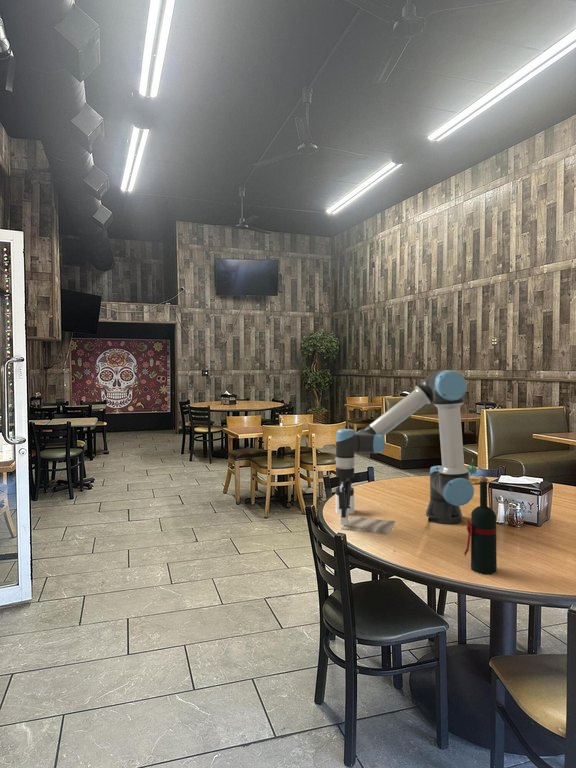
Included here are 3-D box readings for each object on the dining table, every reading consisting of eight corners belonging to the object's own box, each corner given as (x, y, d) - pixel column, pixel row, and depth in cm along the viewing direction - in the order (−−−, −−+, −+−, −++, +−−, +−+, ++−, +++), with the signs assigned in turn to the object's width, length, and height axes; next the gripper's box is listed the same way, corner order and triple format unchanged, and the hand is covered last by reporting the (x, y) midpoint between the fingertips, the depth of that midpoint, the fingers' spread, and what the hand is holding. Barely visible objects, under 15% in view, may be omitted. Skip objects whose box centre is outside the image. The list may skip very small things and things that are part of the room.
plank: (370, 521, 209) (370, 518, 208) (360, 534, 192) (360, 531, 192) (352, 518, 211) (352, 515, 211) (341, 530, 195) (341, 528, 195)
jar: (343, 518, 213) (342, 491, 213) (331, 514, 220) (331, 488, 220) (358, 515, 218) (358, 488, 218) (346, 511, 225) (346, 485, 224)
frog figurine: (492, 485, 272) (489, 459, 271) (459, 487, 275) (456, 462, 275) (489, 481, 281) (486, 456, 281) (456, 483, 284) (453, 458, 284)
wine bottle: (460, 564, 162) (460, 475, 161) (491, 564, 161) (491, 475, 161) (467, 574, 154) (467, 480, 153) (500, 574, 154) (500, 480, 153)
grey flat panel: (398, 524, 205) (398, 520, 205) (389, 539, 187) (389, 535, 187) (345, 518, 214) (345, 515, 214) (331, 532, 195) (331, 529, 195)
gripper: (340, 463, 205) (339, 519, 206) (331, 469, 193) (330, 528, 194) (357, 465, 202) (357, 521, 203) (349, 471, 190) (349, 530, 191)
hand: (344, 524), depth 198 cm, fingers closed
